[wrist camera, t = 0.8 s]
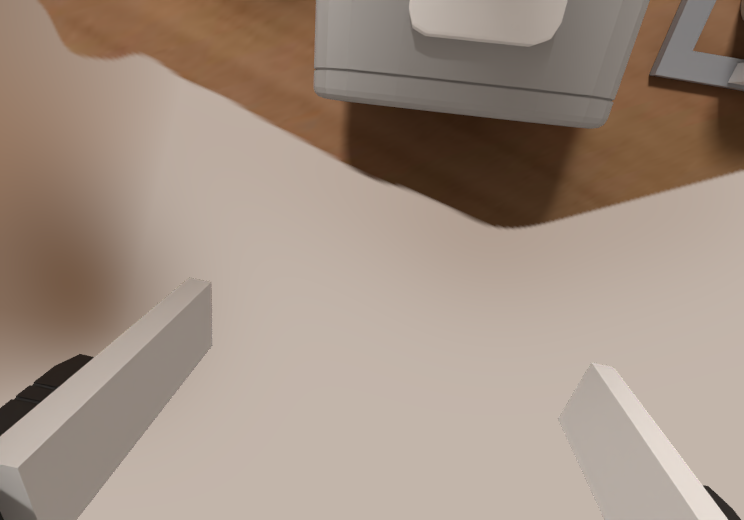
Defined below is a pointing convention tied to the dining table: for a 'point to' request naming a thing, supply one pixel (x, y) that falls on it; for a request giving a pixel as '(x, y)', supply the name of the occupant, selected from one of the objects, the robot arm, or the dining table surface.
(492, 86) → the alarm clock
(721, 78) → the collar
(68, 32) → the dining table surface
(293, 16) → the dining table surface
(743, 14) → the coffee cup
